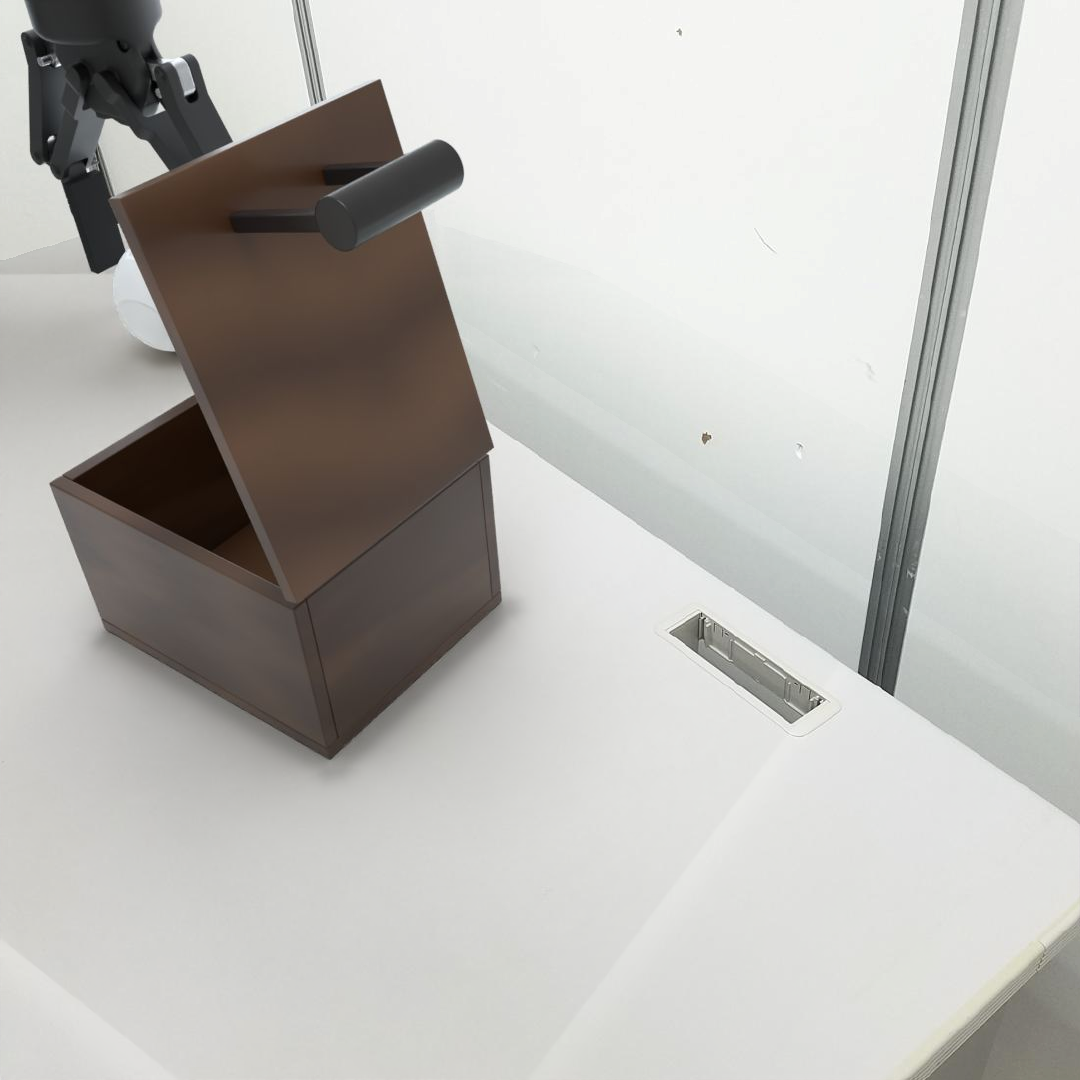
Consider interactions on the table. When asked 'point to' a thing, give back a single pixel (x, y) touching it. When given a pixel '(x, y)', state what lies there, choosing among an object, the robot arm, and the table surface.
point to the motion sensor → (138, 305)
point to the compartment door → (315, 325)
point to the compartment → (272, 583)
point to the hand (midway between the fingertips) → (173, 289)
